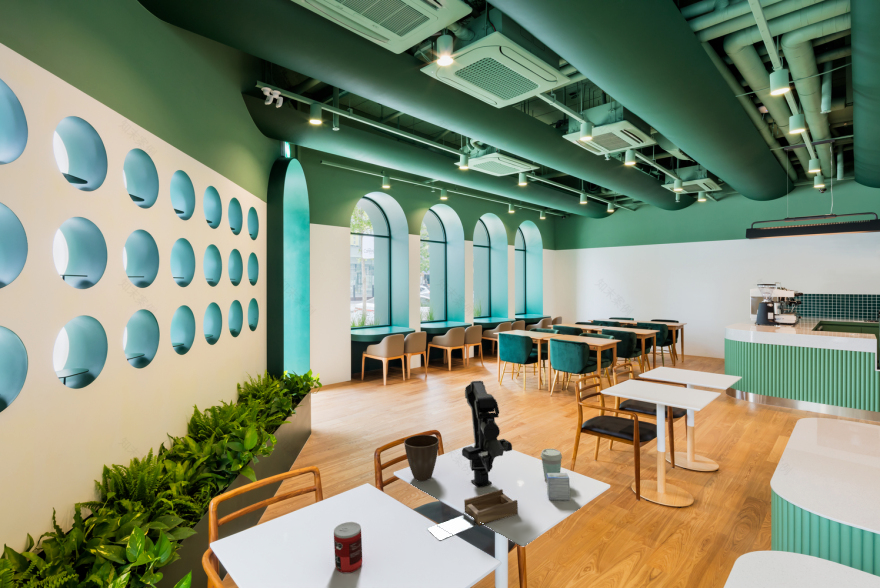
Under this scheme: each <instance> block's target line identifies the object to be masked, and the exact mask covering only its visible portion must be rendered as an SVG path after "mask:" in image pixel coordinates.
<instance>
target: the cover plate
mask: <svg viewBox="0 0 880 588" xmlns="http://www.w3.org/2000/svg"><path fill="white" fill-rule="evenodd" d="M464 513H465V511H464V512H462V515H460V516H457V517H454V518H451V519H449V520H448V521H445V522H441V523H439V524H437V525H438V526H440V527H441V528H443V529H444V530H446V531H448V532H449V533H452V534H453V536H454V535H457V534H460V533H462V532H465V531H467V530H470V529H472V528H474V527H477V526H478V525H477V524H476V523H475V519H473V518H472V517H470V516H469V515H467V513H465V514H464ZM437 525H434V526H432V527H429V528H427V530H426V531H428V532H429V533H430V534H431V535H433V536H434V537H435V539H437V540H438V541H440V542H441V541H443V540H445V539H448V538H450V537H452V534H449V533H448V532H446V531H444V530H443V529H441V528H439V527H437Z"/></svg>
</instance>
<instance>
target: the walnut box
mask: <svg viewBox="0 0 880 588" xmlns="http://www.w3.org/2000/svg"><path fill="white" fill-rule="evenodd" d="M463 501H464V512H465V513H467V514H468V515H469V516H471V517H473V518H474V519H475V524H477V526H478V527H481V526H484V525H487V524H490V523H493V522H497V521H500V520H502V519H506V518H509V517H512V516H515V515H518V514H519V511H518V510H519V507H518V506H519V504H518V500H517V499H514V500H513V499H512V498H510V497H509V496H507V495H506V494H505V493H504V490H503V489H502V488H501V489H498V490H495V491H491V492H486V493H484V494H480V495H479V494H478V495H476V496H472V497H469V498H465V499H464V500H463ZM480 522H481V523H480ZM482 523H484V524H482Z"/></svg>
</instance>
